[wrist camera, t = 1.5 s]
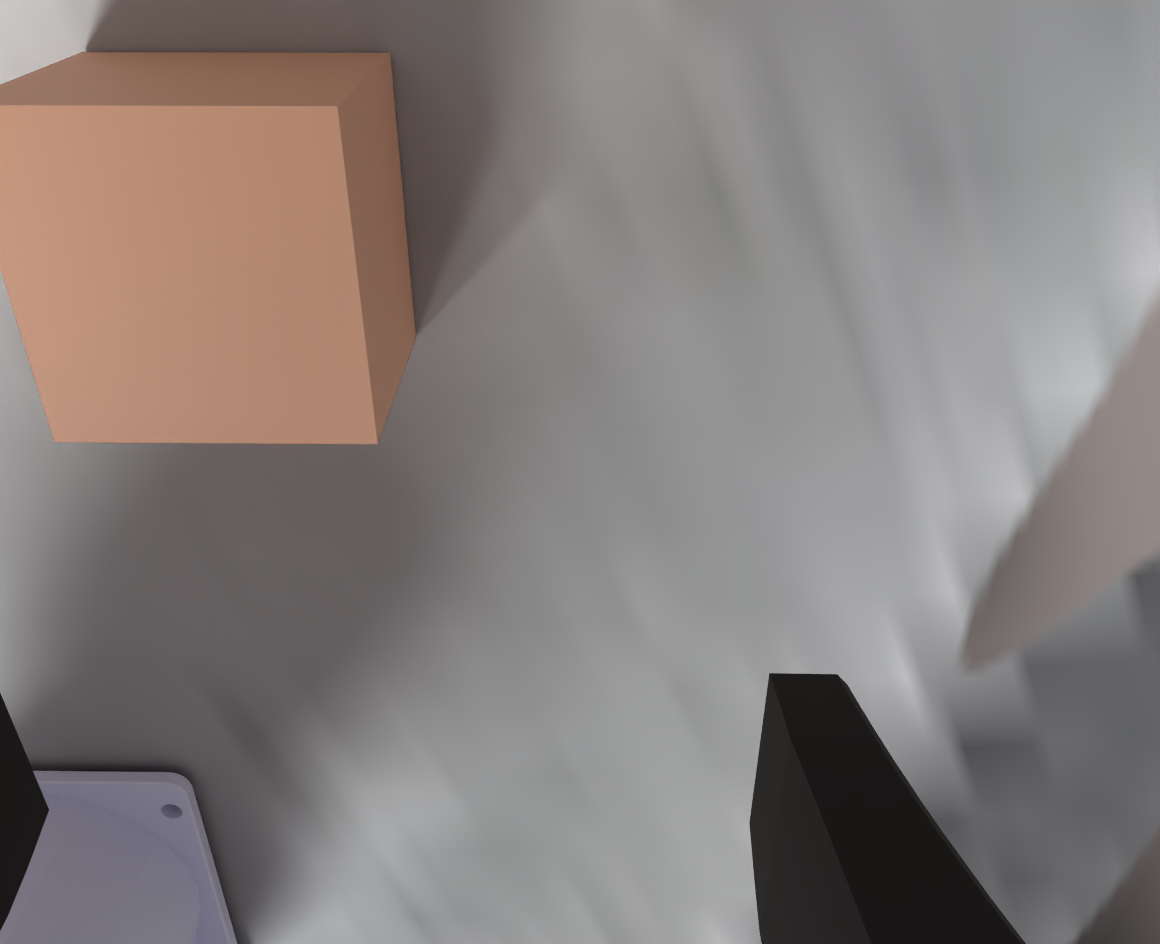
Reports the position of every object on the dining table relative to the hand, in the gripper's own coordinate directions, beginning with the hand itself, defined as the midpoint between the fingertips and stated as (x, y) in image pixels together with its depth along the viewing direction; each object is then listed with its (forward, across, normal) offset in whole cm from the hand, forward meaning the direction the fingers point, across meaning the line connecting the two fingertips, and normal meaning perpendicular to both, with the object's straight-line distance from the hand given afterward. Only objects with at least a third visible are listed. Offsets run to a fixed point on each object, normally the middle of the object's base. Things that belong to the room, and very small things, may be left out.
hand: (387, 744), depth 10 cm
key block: (+11, +4, -2) cm, 12 cm away
